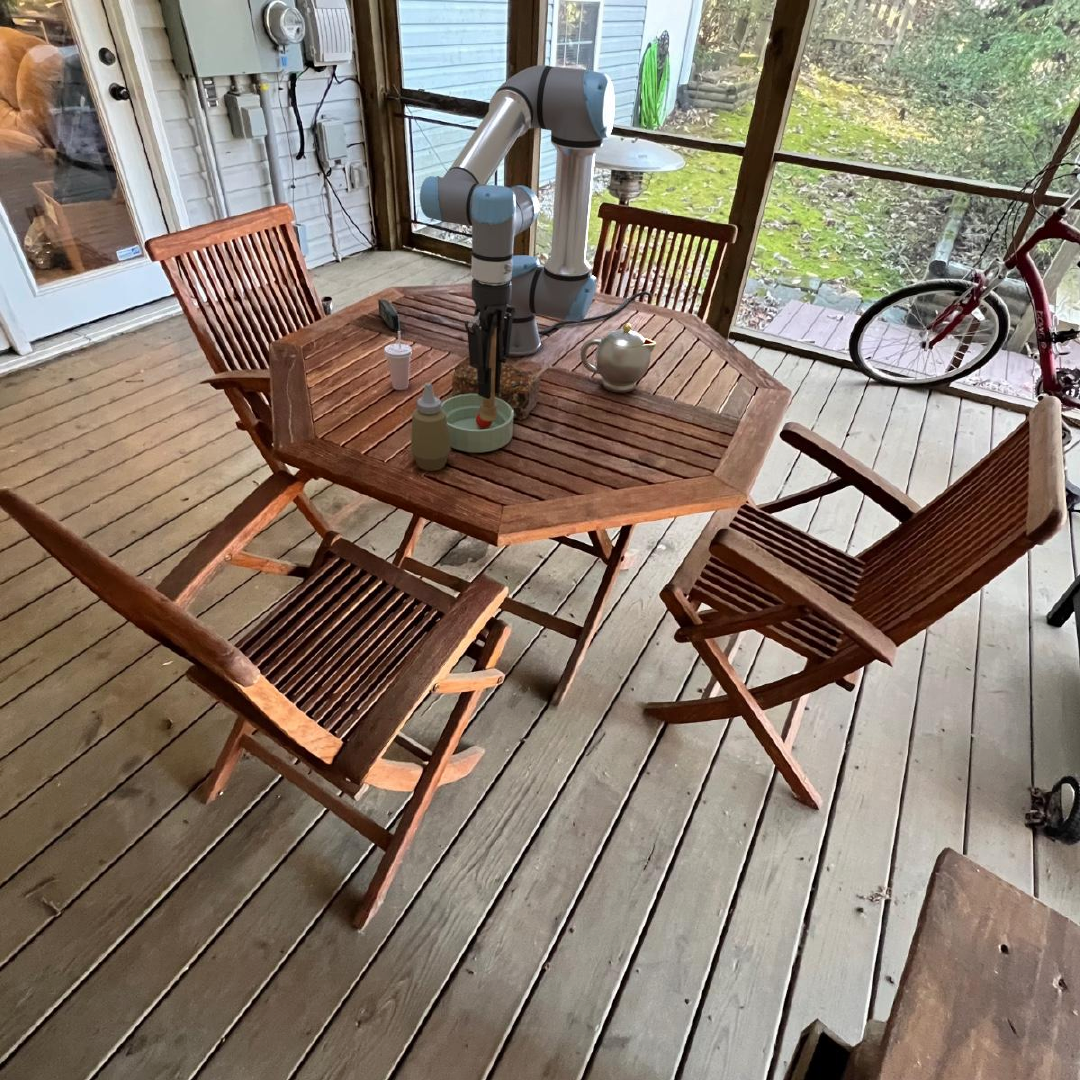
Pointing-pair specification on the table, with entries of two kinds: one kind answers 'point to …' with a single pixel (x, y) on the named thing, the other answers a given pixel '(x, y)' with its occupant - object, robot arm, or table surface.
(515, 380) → the bread
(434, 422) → the squeeze bottle
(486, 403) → the muddler
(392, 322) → the dark grey tapered piece
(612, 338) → the teapot
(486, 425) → the cherry tomato
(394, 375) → the smoothie
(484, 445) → the bowl
